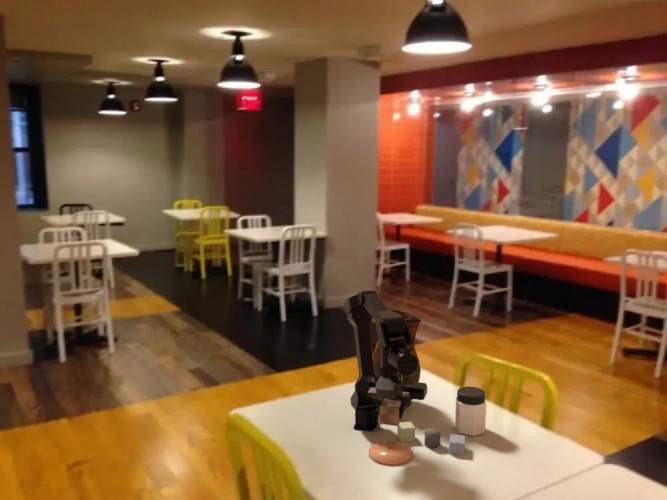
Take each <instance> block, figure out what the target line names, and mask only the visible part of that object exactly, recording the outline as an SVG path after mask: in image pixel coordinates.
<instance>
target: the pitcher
mask: <svg viewBox="0 0 667 500" xmlns="http://www.w3.org/2000/svg"><path fill="white" fill-rule="evenodd" d="M390 311H391V312H395V313H398V314H400V315H401V316H402V317H403V318H404V319H405V320H406V322H407V324H408V327H409V330H410V333H411V336H412V339H411V340H412V345H407V348H410V349H411V353H412V354H413V355H414V356H415V357H416V358H417V361H418V366H417V369H416V370H415V372H414V373H412V374H411V375H407V376H406V375H402V382H403V385H411V384H412V382H419V381H420V380H421V371H422V370H421V363H420V358H419V356H418V354H417V351H416V350H417V349H416V345H415V343H416V341H415V340H416V335H417V331H418V328H419V326H420V323H421V322H422V319H421V318H418V317H416V316H413V315H411V314H410V313H407V312H406V311H401V310H390ZM370 338H371V346H372V355H373V364H374V373H375V375H376V377H377V378H379V375H380V368H381V342H380V341H379V340H380V339H379V338H378V340H377V343H375V342H374V339H372V337H371V336H370ZM404 338H405V337H402V338H394V339H404ZM402 395H403V392H402V394H401V395H400V394H398V395H395V397H394V399H392V400H396V401H401V397H402ZM384 399H385V398H384ZM388 400H389V399H388ZM410 406H412V401H408V402H407V405H406V407H405V409H407V408H409V407H410Z"/></svg>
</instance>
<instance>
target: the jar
mask: <svg viewBox="0 0 667 500" xmlns="http://www.w3.org/2000/svg"><path fill="white" fill-rule="evenodd" d="M456 392H457V393H456V398H455V425H454V426H455V428H456V431H458V434H459V435H464V436H472V437H475V436H476V437H477V436H479V435H481V434H484V433H486V420H487V419H486V417H487V415H486V414H487V402H486V391H485V390H484V389H482V388H480V387H476V386H462V387H459V388H457V390H456Z"/></svg>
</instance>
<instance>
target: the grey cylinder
mask: <svg viewBox="0 0 667 500" xmlns="http://www.w3.org/2000/svg"><path fill="white" fill-rule="evenodd" d="M441 435H442V434H441V430H440V429H437V428H430V427H429V428H427V429H425V430H424V446H425V447H426V448H427V449H434V450H435V449H440V447H441Z"/></svg>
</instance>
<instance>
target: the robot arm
mask: <svg viewBox="0 0 667 500" xmlns="http://www.w3.org/2000/svg"><path fill="white" fill-rule="evenodd" d="M391 311H392V310H390V309H389V308H388V307H387V306H386V304H385V302H383V301H382V299H381V298H380V297H379V295H378V292H377V290H373V289H371V290H369V289H367V290H361V291H359V292H358V293H357V294H354V295H353V296H350V297H348V298H347V300H346V301H345V302H344V312H345V314H346V319H347V320H348V322H349V323H350V324H351V326H352V327H353V333H354V334H353V335H354V342H355V352H356V360H357V371H358V376H357V379H356V381H355V383H354V392H353V393H352V395H351V397H350V405H351V407H352V408H353V409H354V412H355V413H354V414H355V415H354V417H355V418H354V420H355V421H354V422H355V423H354V425H353V429H355V430H362V431H370V432H375V430H377V428H378V427H379V425H380V405H381V403H382V402H383V400H384V398H385V399H389V400H392V399H394V397H395V395H398V394H400V395H401V394H402V392H403V395H402V397H401V406H400V413H399V418H400V419H401V418H403V415H404V413H405V410H406V408H407V407H406V405H407V402H408V401H411V402H412V401H413V400H418V401H424V400H425V398H426V396H427V394H428V385H427V383H426V382H412V384H411V385H403V382H402V375H406V376H407V375H411V374H412V373H414V372H415V370H416V369H417V366H418V361H417V358H416V357H415V356H414V355H413V354H412V353H411V349H410V348H407V345H412V340H411V339H412V336H411V333H410V330H409V327H408V324H407V322H406V320H405V319H404V318H403V317H402V316H401V315H400V314H398V313H395V312H391ZM372 320H374V322H375V323H376V326H375V327H376V328H375V330H376V334H377V336H378V339H380V340H379V341H380V342H381V368H380V375H379V378H377V377H376V375H375V373H374V364H373V355H372V353H373V346H372V345H371V339H372V337H371V330H370V325H371V323H372ZM370 337H371V338H370ZM402 337H405V338H404V339H394V338H402ZM405 407H406V408H405ZM401 420H402V419H401Z"/></svg>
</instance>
